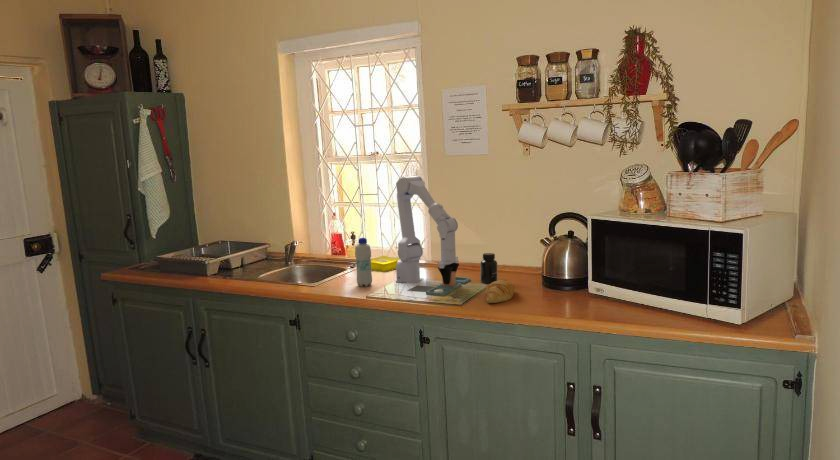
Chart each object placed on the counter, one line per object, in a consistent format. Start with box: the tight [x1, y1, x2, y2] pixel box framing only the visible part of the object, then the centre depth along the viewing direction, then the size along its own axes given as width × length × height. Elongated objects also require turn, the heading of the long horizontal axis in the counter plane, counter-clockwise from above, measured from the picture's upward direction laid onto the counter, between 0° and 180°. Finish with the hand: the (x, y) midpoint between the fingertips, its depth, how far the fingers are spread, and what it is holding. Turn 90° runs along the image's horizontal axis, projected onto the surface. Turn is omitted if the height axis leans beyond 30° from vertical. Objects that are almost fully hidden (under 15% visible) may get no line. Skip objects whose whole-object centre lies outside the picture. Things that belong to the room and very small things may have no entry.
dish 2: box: [436, 283, 462, 291], centre depth 227 cm, size 7×7×1 cm
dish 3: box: [456, 276, 471, 285], centre depth 236 cm, size 7×7×1 cm
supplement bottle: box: [480, 252, 498, 285], centre depth 233 cm, size 7×7×12 cm
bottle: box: [354, 237, 373, 288], centre depth 236 cm, size 7×7×20 cm
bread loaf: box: [486, 279, 515, 304], centre depth 209 cm, size 21×10×8 cm, turn 151°
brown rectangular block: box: [441, 271, 457, 287], centre depth 227 cm, size 4×4×6 cm
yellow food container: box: [371, 255, 400, 273], centre depth 273 cm, size 15×15×5 cm
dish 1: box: [425, 288, 452, 297], centre depth 219 cm, size 7×7×1 cm
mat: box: [407, 285, 437, 293], centre depth 226 cm, size 9×9×1 cm
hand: (449, 282), depth 227 cm, fingers closed on brown rectangular block, 4 cm apart
